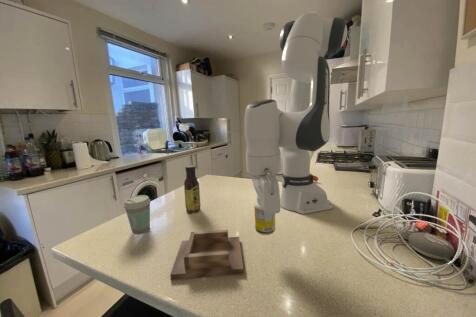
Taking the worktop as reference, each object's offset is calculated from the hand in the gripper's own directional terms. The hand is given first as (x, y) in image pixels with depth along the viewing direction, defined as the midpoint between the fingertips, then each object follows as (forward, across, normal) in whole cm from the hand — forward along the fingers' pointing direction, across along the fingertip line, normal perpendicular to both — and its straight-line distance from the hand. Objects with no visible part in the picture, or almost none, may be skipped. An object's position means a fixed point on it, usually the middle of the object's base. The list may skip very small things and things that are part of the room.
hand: (265, 213), depth 55 cm
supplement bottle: (+5, 0, 0) cm, 5 cm away
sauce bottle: (+12, +31, +26) cm, 42 cm away
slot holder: (+12, 0, +16) cm, 21 cm away
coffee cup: (+12, +18, +43) cm, 48 cm away
